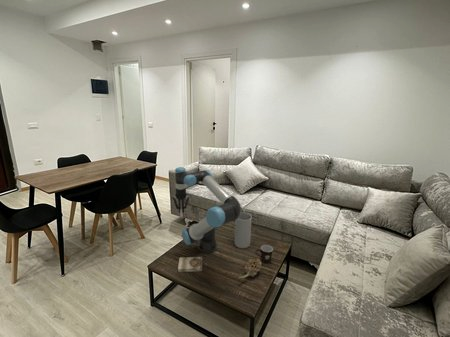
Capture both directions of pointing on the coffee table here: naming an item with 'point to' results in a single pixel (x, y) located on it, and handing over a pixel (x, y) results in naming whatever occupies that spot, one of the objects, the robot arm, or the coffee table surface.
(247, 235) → the cylinder vase
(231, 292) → the coffee table surface
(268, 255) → the coffee mug
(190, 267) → the block
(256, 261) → the dried lotus pod
